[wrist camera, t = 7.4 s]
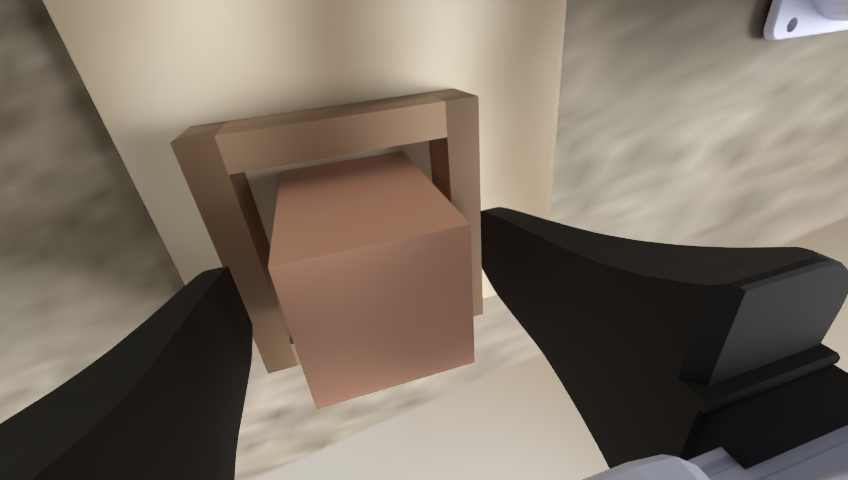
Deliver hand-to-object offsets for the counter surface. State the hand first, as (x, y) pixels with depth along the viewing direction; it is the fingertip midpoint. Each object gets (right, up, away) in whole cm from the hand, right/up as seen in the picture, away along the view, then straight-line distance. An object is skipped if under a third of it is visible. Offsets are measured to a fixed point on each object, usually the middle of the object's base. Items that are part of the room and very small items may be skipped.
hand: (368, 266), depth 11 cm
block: (-1, +2, +3) cm, 3 cm away
